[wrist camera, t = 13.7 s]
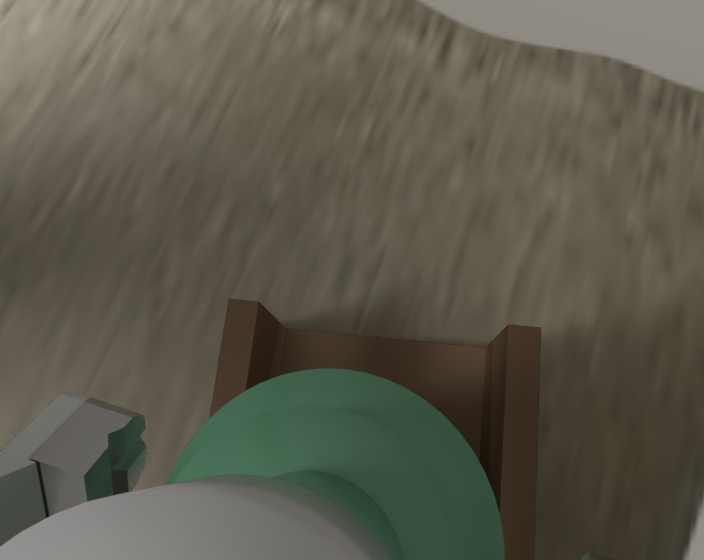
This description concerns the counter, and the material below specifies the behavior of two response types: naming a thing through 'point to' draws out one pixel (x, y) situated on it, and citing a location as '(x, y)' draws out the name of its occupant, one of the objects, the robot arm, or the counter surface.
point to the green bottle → (297, 485)
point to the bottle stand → (417, 392)
